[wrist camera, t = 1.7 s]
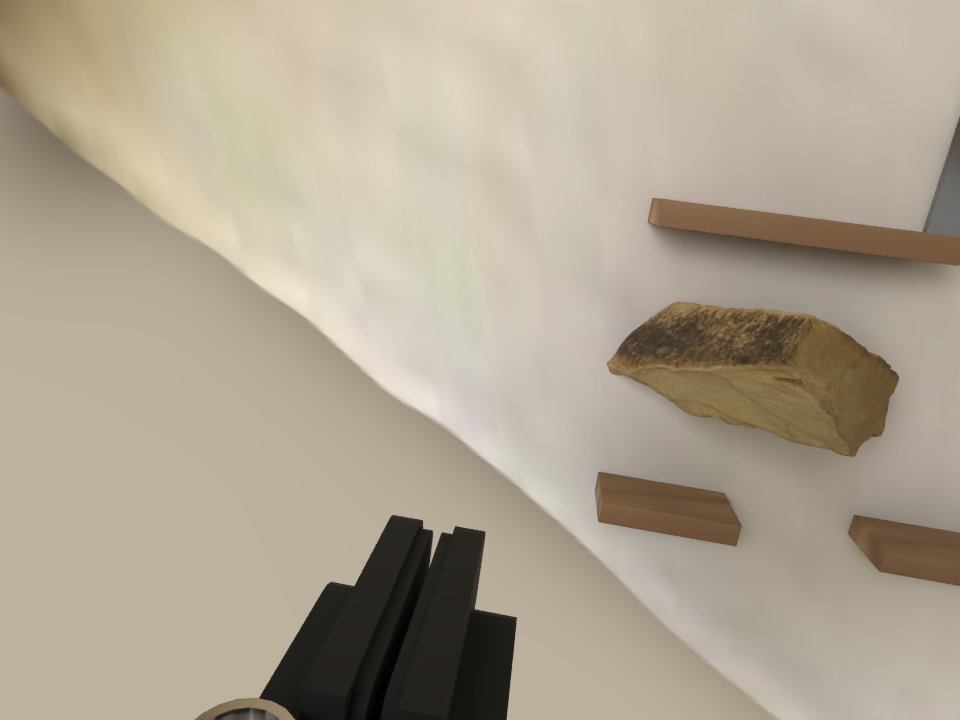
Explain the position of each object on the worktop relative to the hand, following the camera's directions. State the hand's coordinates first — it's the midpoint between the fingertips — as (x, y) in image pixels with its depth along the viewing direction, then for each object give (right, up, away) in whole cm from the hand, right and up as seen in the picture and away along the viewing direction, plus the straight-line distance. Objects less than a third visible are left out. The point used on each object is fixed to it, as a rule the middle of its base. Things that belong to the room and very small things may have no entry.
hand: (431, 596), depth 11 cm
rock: (+13, +4, +17) cm, 22 cm away
